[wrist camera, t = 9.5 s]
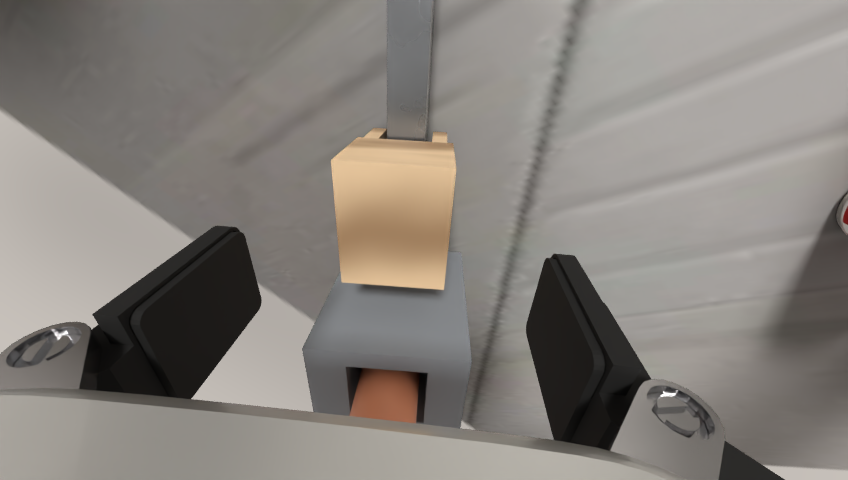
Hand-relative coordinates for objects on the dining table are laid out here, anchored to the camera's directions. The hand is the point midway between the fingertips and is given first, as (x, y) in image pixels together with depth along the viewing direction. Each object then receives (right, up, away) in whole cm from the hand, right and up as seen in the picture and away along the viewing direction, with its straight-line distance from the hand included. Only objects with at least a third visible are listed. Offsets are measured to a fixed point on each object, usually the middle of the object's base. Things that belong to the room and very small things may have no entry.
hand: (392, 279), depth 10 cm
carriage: (0, +5, +11) cm, 12 cm away
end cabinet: (0, -2, +15) cm, 15 cm away
